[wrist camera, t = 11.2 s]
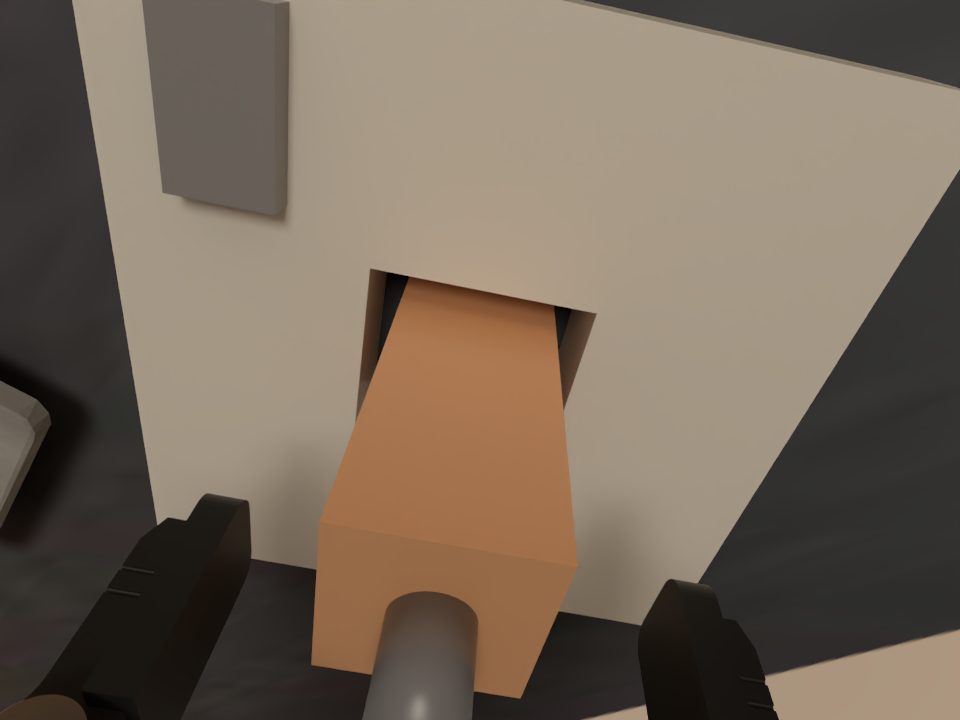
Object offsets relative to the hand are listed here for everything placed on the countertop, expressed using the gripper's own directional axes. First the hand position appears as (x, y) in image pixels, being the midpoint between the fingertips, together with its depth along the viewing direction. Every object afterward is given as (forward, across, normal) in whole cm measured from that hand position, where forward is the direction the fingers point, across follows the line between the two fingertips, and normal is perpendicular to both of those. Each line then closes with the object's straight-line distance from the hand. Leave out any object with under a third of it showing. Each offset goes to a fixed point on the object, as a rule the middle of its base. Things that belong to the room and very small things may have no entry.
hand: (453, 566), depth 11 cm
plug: (+9, 0, 0) cm, 9 cm away
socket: (+9, 0, 0) cm, 9 cm away
